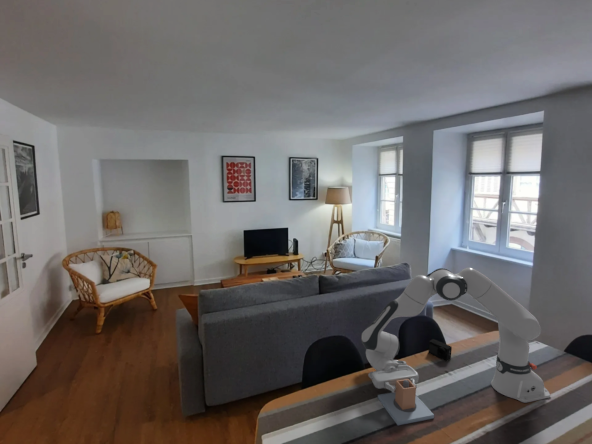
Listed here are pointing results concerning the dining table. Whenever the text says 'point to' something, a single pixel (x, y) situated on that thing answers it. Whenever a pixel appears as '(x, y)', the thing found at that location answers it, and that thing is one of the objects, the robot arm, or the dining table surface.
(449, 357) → the digital camera
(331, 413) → the dining table surface
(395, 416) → the post board
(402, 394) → the sleeve
